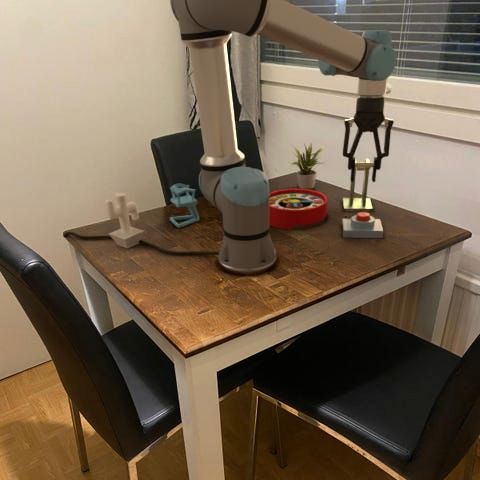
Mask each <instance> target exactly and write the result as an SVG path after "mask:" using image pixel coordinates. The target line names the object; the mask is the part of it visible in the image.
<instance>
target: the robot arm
mask: <svg viewBox="0 0 480 480" xmlns="http://www.w3.org/2000/svg"><path fill="white" fill-rule="evenodd" d="M169 3H170V8H171V12H172V14H173V16H174V18H175V19H176V21H177V22H178V27H179V33H180V39H181V40H180V41H181V43H182V44H184V45H185V46H186V47H187V48H188V49H189V56H190V62H191V63H190V64H191V69H192V75H193V82H194V90H195V96H196V97H195V98H196V103H197V104H196V105H197V110H198V116H199V122H200V130H201V131H200V132H201V138H202V145H203V150H204V151H203V152H204V154H203V155H202V157H201V158H200V160H199V164H200V172H199V175H198V186H199V190H200V191H201V194H202V195H203V197H204V198H205V199H206V200H207V202H209V203H210V204H211V205H212V206H214V208H216V209H217V210H218V211H219V212H220V213H221V214H222V227H223V238H222V241H221V245H220V248H219V251H210V250H209V251H208V250H207V251H201V250H200V251H197V250H196V251H195V250H194V251H193V250H192V251H189V250H188V251H176V250H168V249H165V248H162V247H160V246H158V245H156V244H153V243H151V242H149V241H146V240H143V239H141V240H139V244H141V245H144V246H147V247H150V248H152V249H155V250H156V251H159V252H161V253H164V254H167V255H174V256H188V255H189V256H200V255H201V256H217V259H218V267H219V268H220V269H221V270H222V271H224V272H226V273H228V274H232V275H238V276H253V275H259V274H263V273H266V272H269V271H271V270H272V269H273V268H274V267H276V264H277V251H276V248H275V245H274V243H273V240H272V238H271V235H270V225H269V195H270V193H271V189H270V188H271V187H270V183H269V182H270V181H269V178H268V176H267V174H266V173H265V172H263V171H262V170H261V169H258V168H252V167H250V166H246V158H245V154H244V153H243V152H242V151H241V150H239V149H238V139H237V129H236V121H235V120H236V119H235V111H234V102H233V94H232V83H231V75H230V74H231V73H230V65H229V57H228V47H227V45H228V42H229V40H230V39H231V37H232V35H233V33H238V34H241V35H244V36H246V37H249V38H252V37H254V36H255V35H257V36H260V37H262V38H265V39H268V40H270V41H272V42H275V43H278V44H279V45H283V46H284V47H287V48H289V49H292V50H295V51H297V52H299V53H301V54H304V55H306V56H309V57H312V58H313V59H317V64H318V69H319V71H320V73H321V74H322V75H323V76H332V77H334V76H344V77H345V76H346V77H351V78H358V82H357V95H358V96H357V98H356V104H355V113H354V115H353V117H351V118H345V119H344V120H343V125H344V127H345V130H344V138H343V145H342V157H344V158H347V169H348V171H350V183H351V182H354V171H355V160H356V161H357V159H356V157H355V154H356V151H357V148H358V146H359V143H360V140H361V138H362V137H363V136H362V135H363V133H372V135H373V141H374V147H375V152H376V156H374V157H373V162H374V167H372V173H371V181H372V183H376V178H377V171H380V170H381V169H382V160H383V158H388V157H389V155H390V146H391V145H390V144H391V133H392V132H391V131H392V128H393V126H394V124H395V121H394V120H393V118H387V117H385V114H384V111H385V103H386V97H385V95H386V94H387V85H388V78H390V77H391V75H393V73H394V71H395V70H396V69H395V68H396V66H397V61H398V59H397V54H396V50H395V49H394V48H393V47H392V43H393V42H392V40H393V39H392V37H393V36H392V32H391V31H390V30H388V29H371V30H370V29H369V30H365V31H363V33H362V36H361V35H359V34H357V33H355V32H353V31H351V30H349V29H347V28H344V27H342V26H340V25H338V24H335V23H333V22H331V21H329V20H327V19H325V18H322V17H320V16H319V15H316V14H314V13H312V12H310V11H307V10H306V9H304V8H302V7H299V6H297V5H295V4H292V3H291V2H288V1H286V0H169ZM353 123H354V124H355V125H356V128H357V130H356V134H355V136H354V139H353V142H352V144H351V147H350V150H349V143H350V142H349V141H350V135H351V128H352V127H353ZM383 123H384V124H383ZM382 124H383V125H384V127H385V129H384V142H383V151H382V148H381V147H382V146H381V143H380V136H379V130H378V129H379V127H381V125H382ZM348 150H349V151H348ZM68 236H73V237H75V238H78V239H82V240H101V239H102V240H103V239H108V240H109V239H110V240H113V239H112V237H111V236H110V235H83V234H82V235H81V234H79V233H76V232H74V231H67V232H65V233H64V234H63V236H62V237H63V238H66V237H68Z"/></svg>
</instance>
